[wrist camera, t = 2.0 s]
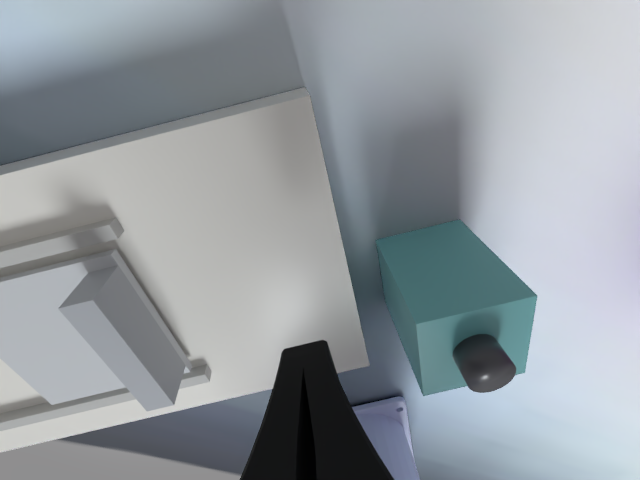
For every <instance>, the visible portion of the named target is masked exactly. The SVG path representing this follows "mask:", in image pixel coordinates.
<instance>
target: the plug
mask: <svg viewBox="0 0 640 480" xmlns="http://www.w3.org/2000/svg"><path fill="white" fill-rule="evenodd" d="M376 245H377V252H378V258H379V264H380V270H381V277H382V283H383V289H384V296H385V302H386V305H387V307H388V310H389V312H390V315H391V317H392V320H393V322H394V325H395V327H396V330H397V332H398V335H399V337H400V340H401V342H402V345H403V347H404V350H405V352H406V354H407V357H408V359H409V362H410V364H411V367H412V369H413V372H414V374H415V377H416V379H417V382H418V384H419V387H420V389H421V392H422V394H423V396H426V395H430V394H434V393H439V392H443V391H447V390H452V389H456V388H460V387H465V386H468V387H469V388H470V389H471V390H472V391H475V392H481V393H484V392H491V391H494V390H497V389H499V388H501V387H503V386H505V385H506V384H508V383H509V382H510V381H511V380H512V379H513V377H514V376H515V375H517V374H521V373H525V368H526V362H527V356H528V350H529V344H530V337H531V331H532V325H533V319H534V313H535V306H536V300H537V295H536V294H535V293H534V292H533V291H532V290H531V289H530V288H529V287H528V286H527V285H526V284H525V283H524V282H523V281H522V280H521V279H520V278H519V277H518V276H517V275H516V274H515V273H514V272H513V271H512V270H511V269H510V268H509V267H508V266H507V265H506V264H505V263H504V262H503V261H502V260H501V259H499V258H498V257H497V256H496V255H495V254H494V253H493V252H492V251H491V250H490V249H489V248H488V247H487V246H486V245H485V244H484V243H483V242H482V241H481V240H480V239H479V238H478V237H477V236H476V235H475V234H474V233H473V232H472V231H471V230H470V229H469V228H468V227H467V226H466V225H465V224H464V223H463V222H462V221H461V220H455V221H451V222H447V223H443V224H439V225H435V226H431V227H427V228H423V229H419V230H415V231H411V232H406V233H402V234H398V235H394V236H390V237H386V238H382V239H378V240H376Z"/></svg>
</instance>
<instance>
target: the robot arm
mask: <svg viewBox="0 0 640 480" xmlns="http://www.w3.org/2000/svg"><path fill="white" fill-rule="evenodd" d="M240 480H420V477H419V474H418V471H417V468H416V465H415V462H414V456H413V449H412V442H411V435H410V429H409V422H408V415H407V408H406V403H405V400H404V398H403V397H394V398H389V399H385V400H381V401H376V402H372V403H368V404H364V405H359V406H355V407H351V405H350V403H349V401H348V399H347V397H346V394H345V392H344V390H343V388H342V386H341V384H340V382H339V379H338V375H337V372H336V369H335V365H334V362H333V359H332V356H331V352H330V349H329V346H328V343H327V341H325V340H319V341H315V342H311V343H307V344H303V345H298V346H294V347H290V348H286V349H284V350H283V351H282V353H281V358H280V363H279V367H278V371H277V375H276V379H275V382H274V386H273V389H272V393H271V396H270V399H269V402H268V406H267V409H266V412H265V415H264V418H263V421H262V424H261V427H260V430H259V432H258V435H257V438H256V440H255V443H254V446H253V448H252V451H251V454H250V456H249V459H248V461H247V464H246V466H245V469H244V471H243V473H242V476H241V478H240Z"/></svg>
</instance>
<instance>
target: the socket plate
mask: <svg viewBox="0 0 640 480" xmlns="http://www.w3.org/2000/svg"><path fill="white" fill-rule="evenodd" d="M113 249H116V250H117V251H118V253H119V255H120V256H121V258H122V259H123V261H124V262H125V264H126V265H127V267H128V268H129V270H130V271H131V273H132V274H133V276H134V277H135V279H136V280H137V282H138V283H139V285H140V287H141V288H142V290H143V291H144V293H145V294H146V296H147V297H148V299H149V300H150V302H151V303H152V305H153V306H154V308H155V309H156V311H157V312H158V314H159V315H160V317H161V319H162V320H163V322H164V323H165V325H166V326H167V328H168V329H169V331H170V332H171V334H172V335H173V337H174V338H175V340H176V341H177V343H178V344H179V346H180V347H181V349H182V351H183V352H184V354H185V355H186V357H187V358H188V360H189V361H190V363H191V364H192V368H191V371H190V372H189V373H185V374H183V377H182V380H181V384H180V387H179V390H178V394H177V397H176V401H175V404H174V405H172V406H168V407H164V408H159V409H155V410H151V411H146V410H145V409H144V408H143V406H142V405H141V404H140V403H139V402H138V401H137V399H136V398H135V397H134V396H133V395H132V394H131V393H130V391H129V390H128V389H127V388H121V389H117V390H113V391H109V392H105V393H100V394H96V395H92V396H88V397H83V398H79V399H75V400H71V401H67V402H62V403H58V404H54V405H51V404H50V403H49V402H48V401H47V400H46V399H45V398H43V397H42V396H41V395H40V394H39V393H38V392H37V391H36V390H35V389H33V388H32V387H31V386H30V385H29V384H28V383H27V382H26V381H25V380H23V379H22V378H21V377H20V376H19V375H18V374H17V373H16V372H15V371H13V370H12V369H11V368H10V367H9V366H8V365H7V364H6V363H5V362H4V361H2V360H1V359H0V452H4V451H8V450H12V449H17V448H21V447H25V446H30V445H33V444H38V443H42V442H47V441H51V440H55V439H59V438H64V437H68V436H72V435H76V434H81V433H85V432H89V431H94V430H98V429H102V428H106V427H111V426H115V425H119V424H123V423H128V422H132V421H136V420H141V419H145V418H149V417H153V416H158V415H162V414H166V413H170V412H175V411H179V410H183V409H187V408H192V407H196V406H200V405H205V404H209V403H213V402H217V401H222V400H226V399H230V398H234V397H239V396H243V395H247V394H251V393H256V392H260V391H264V390H269V389H273V386H274V382H275V379H276V375H277V371H278V367H279V363H280V358H281V353H282V351H283V350H284V349H286V348H290V347H294V346H298V345H303V344H307V343H311V342H315V341H319V340H325V341H327V343H328V346H329V349H330V352H331V356H332V359H333V362H334V365H335V369H336V372H337V373H341V372H345V371H350V370H354V369H358V368H362V367H367V366H370V364H369V360H368V355H367V351H366V346H365V342H364V337H363V333H362V328H361V324H360V319H359V315H358V310H357V306H356V301H355V297H354V292H353V288H352V283H351V278H350V274H349V269H348V265H347V260H346V256H345V251H344V247H343V242H342V238H341V233H340V229H339V224H338V220H337V215H336V211H335V206H334V202H333V197H332V193H331V188H330V184H329V179H328V175H327V170H326V166H325V161H324V157H323V152H322V148H321V143H320V139H319V134H318V130H317V125H316V121H315V116H314V111H313V107H312V102H311V98H310V95H309V93H308V91H307V89H306V88H305V87H303V88H299V89H295V90H291V91H287V92H284V93H280V94H276V95H272V96H268V97H264V98H260V99H256V100H253V101H249V102H245V103H241V104H237V105H233V106H229V107H226V108H222V109H218V110H214V111H210V112H206V113H202V114H198V115H195V116H191V117H187V118H183V119H179V120H175V121H171V122H168V123H164V124H160V125H156V126H152V127H148V128H144V129H140V130H137V131H133V132H129V133H125V134H121V135H117V136H113V137H110V138H106V139H102V140H98V141H94V142H90V143H86V144H82V145H79V146H75V147H71V148H67V149H63V150H59V151H55V152H52V153H48V154H44V155H40V156H36V157H32V158H28V159H24V160H21V161H17V162H13V163H9V164H5V165H1V166H0V278H1V277H5V276H9V275H13V274H17V273H21V272H25V271H29V270H33V269H37V268H41V267H45V266H49V265H53V264H57V263H61V262H65V261H69V260H73V259H77V258H81V257H85V256H89V255H93V254H97V253H101V252H105V251H109V250H113Z"/></svg>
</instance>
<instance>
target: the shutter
mask: <svg viewBox="0 0 640 480" xmlns="http://www.w3.org/2000/svg"><path fill="white" fill-rule="evenodd" d="M0 359H1V360H2V361H4V362H5V363H6V364H7V365H8V366H9V367H10V368H11V369H12V370H13V371H15V372H16V373H17V374H18V375H19V376H20V377H21V378H22V379H23V380H25V381H26V382H27V383H28V384H29V385H30V386H31V387H32V388H33V389H35V390H36V391H37V392H38V393H39V394H40V395H41V396H42V397H43V398H45V399H46V400H47V401H48V402H49V403H50V404H51V405H54V404H58V403H62V402H67V401H71V400H75V399H79V398H83V397H88V396H92V395H96V394H100V393H105V392H109V391H113V390H117V389H121V388H127V389H128V390H129V391H130V393H131V394H132V395H133V396H134V397H135V398H136V399H137V401H138V402H139V403H140V404H141V405H142V406H143V408H144V409H145V410H146V411H151V410H155V409H159V408H164V407H168V406H172V405H174V404H175V401H176V397H177V394H178V390H179V387H180V384H181V380H182V377H183V374H185V373H189V372H190V371H191V368H192V364H191V363H190V361H189V360H188V358H187V357H186V355H185V354H184V352H183V351H182V349H181V347H180V346H179V344H178V343H177V341H176V340H175V338H174V337H173V335H172V334H171V332H170V331H169V329H168V328H167V326H166V325H165V323H164V322H163V320H162V319H161V317H160V315H159V314H158V312H157V311H156V309H155V308H154V306H153V305H152V303H151V302H150V300H149V299H148V297H147V296H146V294H145V293H144V291H143V290H142V288H141V287H140V285H139V283H138V282H137V280H136V279H135V277H134V276H133V274H132V273H131V271H130V270H129V268H128V267H127V265H126V264H125V262H124V261H123V259H122V258H121V256H120V255H119V253H118V251H117V250H116V249H113V250H109V251H105V252H101V253H97V254H93V255H89V256H85V257H81V258H77V259H73V260H69V261H65V262H61V263H57V264H53V265H49V266H45V267H41V268H37V269H33V270H29V271H25V272H21V273H17V274H13V275H9V276H5V277H1V278H0Z"/></svg>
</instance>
